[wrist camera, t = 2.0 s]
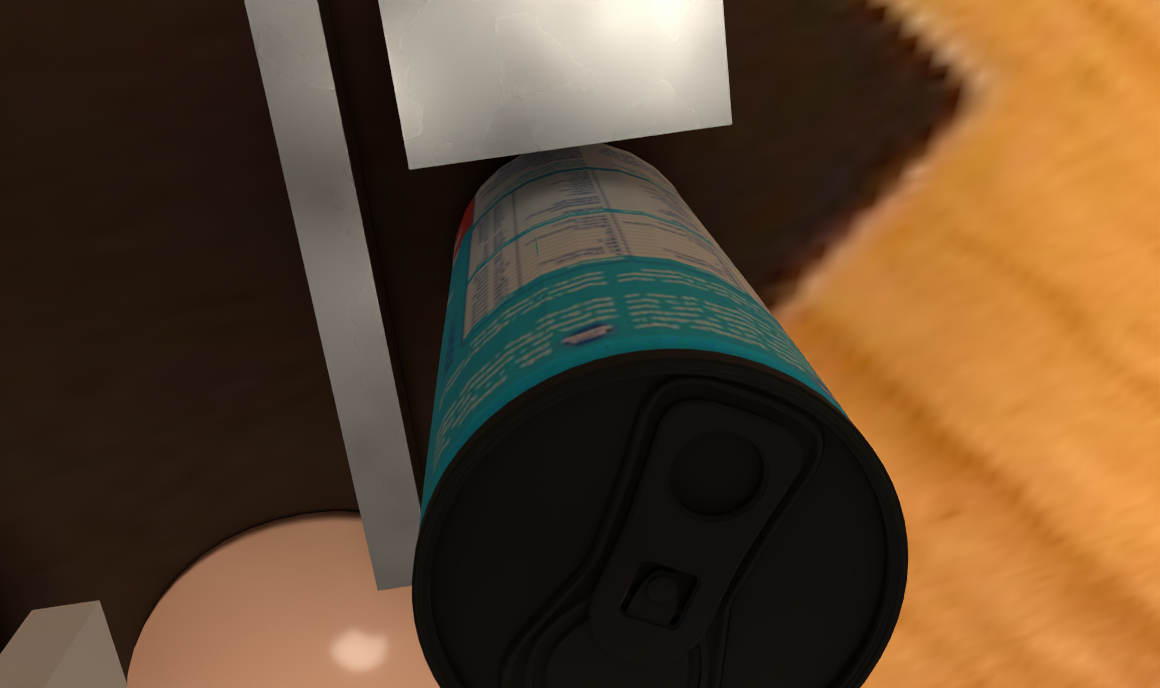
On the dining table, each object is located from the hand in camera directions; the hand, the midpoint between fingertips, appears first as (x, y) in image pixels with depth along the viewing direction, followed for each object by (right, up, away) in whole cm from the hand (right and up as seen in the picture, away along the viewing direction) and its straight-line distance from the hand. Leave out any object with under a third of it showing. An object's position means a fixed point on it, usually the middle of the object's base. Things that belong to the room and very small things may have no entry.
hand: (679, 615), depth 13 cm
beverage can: (-1, +5, +14) cm, 15 cm away
